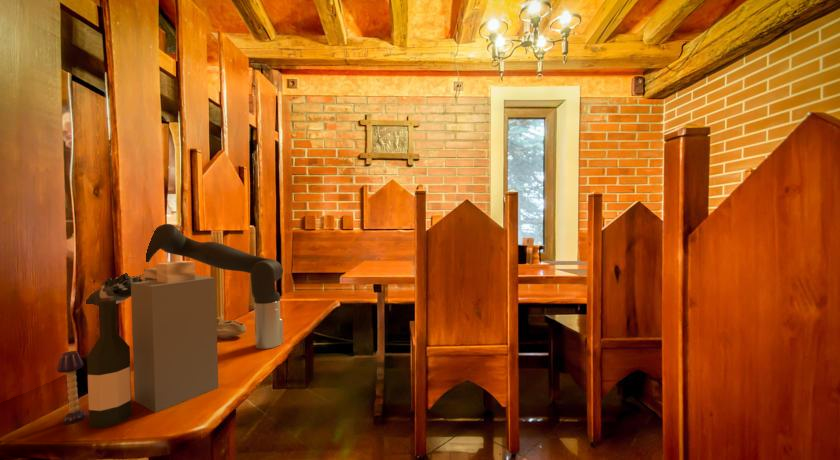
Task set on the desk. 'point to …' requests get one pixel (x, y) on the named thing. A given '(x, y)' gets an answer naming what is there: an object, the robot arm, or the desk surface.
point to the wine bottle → (109, 372)
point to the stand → (174, 341)
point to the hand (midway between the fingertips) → (142, 274)
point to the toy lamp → (71, 384)
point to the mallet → (172, 271)
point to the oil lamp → (229, 328)
